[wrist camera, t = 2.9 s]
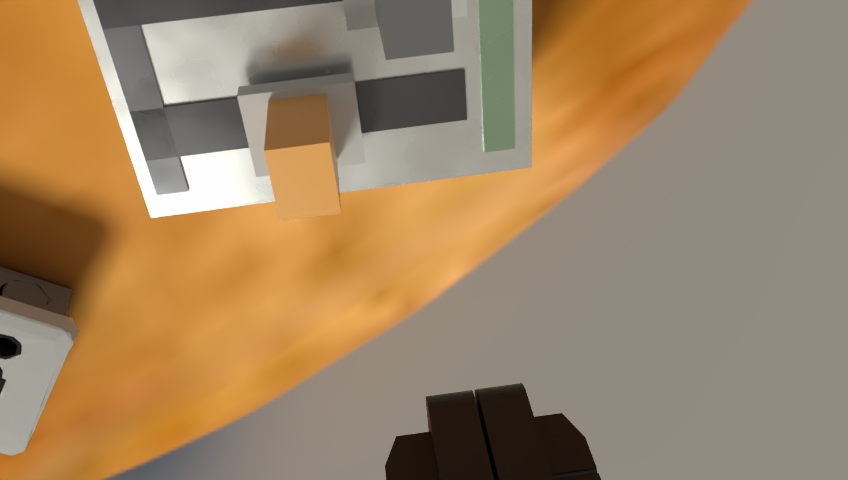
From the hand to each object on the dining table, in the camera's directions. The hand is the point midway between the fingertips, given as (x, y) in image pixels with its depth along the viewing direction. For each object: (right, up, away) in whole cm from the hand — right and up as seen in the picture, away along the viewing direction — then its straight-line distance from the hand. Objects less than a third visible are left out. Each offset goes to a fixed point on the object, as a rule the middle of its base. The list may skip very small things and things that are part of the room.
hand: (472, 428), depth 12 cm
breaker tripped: (-5, +7, +16) cm, 18 cm away
